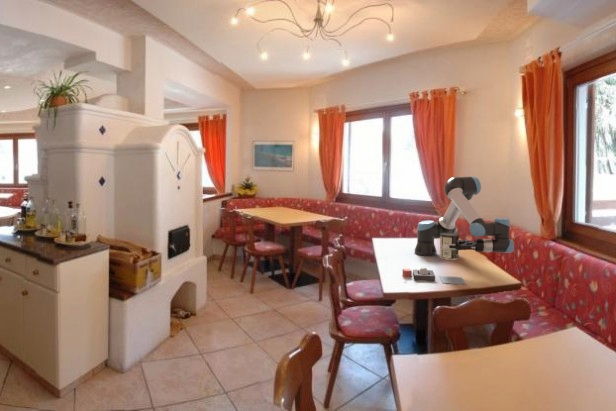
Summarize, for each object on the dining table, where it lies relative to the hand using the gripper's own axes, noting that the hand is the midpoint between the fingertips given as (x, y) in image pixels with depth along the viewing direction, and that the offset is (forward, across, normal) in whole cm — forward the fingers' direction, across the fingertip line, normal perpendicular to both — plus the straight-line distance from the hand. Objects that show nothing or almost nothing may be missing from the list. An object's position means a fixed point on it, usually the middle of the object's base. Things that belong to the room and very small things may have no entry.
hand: (441, 244), depth 207 cm
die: (+20, -9, -18) cm, 28 cm away
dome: (+11, -11, -16) cm, 22 cm away
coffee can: (-4, 0, -8) cm, 9 cm away
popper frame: (+11, -11, -18) cm, 23 cm away
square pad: (-4, -13, -18) cm, 22 cm away
